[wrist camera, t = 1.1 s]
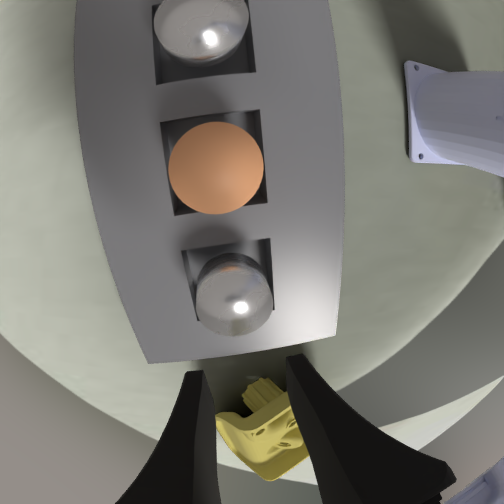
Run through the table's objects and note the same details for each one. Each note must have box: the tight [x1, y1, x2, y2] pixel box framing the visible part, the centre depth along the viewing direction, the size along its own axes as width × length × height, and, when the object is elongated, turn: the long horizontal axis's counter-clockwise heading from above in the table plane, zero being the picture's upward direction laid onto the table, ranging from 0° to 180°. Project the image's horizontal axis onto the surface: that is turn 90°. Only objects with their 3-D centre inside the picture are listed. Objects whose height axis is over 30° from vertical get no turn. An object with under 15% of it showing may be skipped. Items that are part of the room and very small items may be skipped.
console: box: [74, 0, 345, 364], centre depth 15 cm, size 14×26×3 cm, turn 5°
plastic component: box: [215, 377, 309, 481], centre depth 26 cm, size 20×7×10 cm
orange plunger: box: [168, 122, 264, 214], centre depth 12 cm, size 4×4×2 cm
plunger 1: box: [154, 0, 249, 68], centre depth 9 cm, size 4×4×2 cm
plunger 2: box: [196, 253, 273, 336], centre depth 15 cm, size 4×4×2 cm
